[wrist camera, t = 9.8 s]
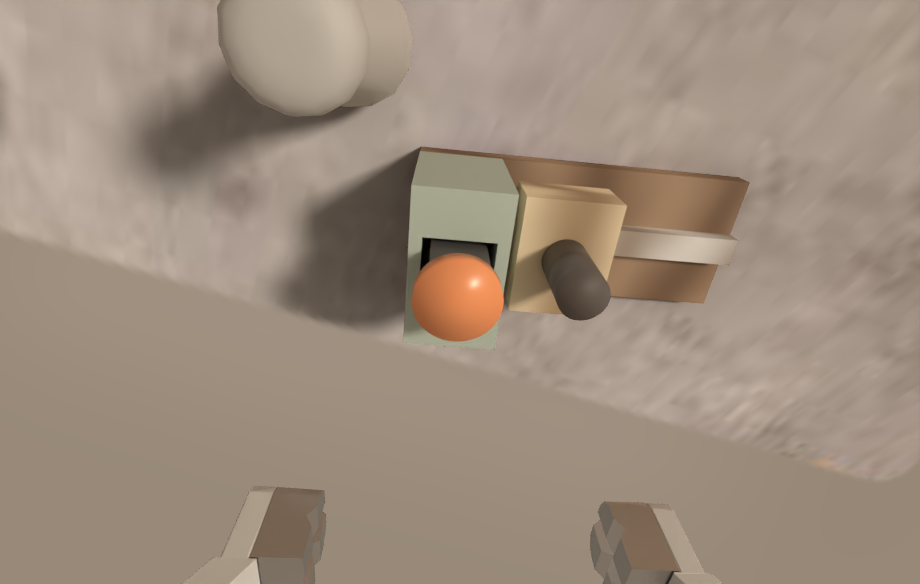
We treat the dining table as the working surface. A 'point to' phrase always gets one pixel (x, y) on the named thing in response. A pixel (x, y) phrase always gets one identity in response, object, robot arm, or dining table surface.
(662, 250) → the rail bed
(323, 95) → the salt shaker
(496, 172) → the end cabinet
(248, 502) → the robot arm
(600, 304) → the carriage
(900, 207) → the dining table surface
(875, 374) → the dining table surface
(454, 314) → the button
